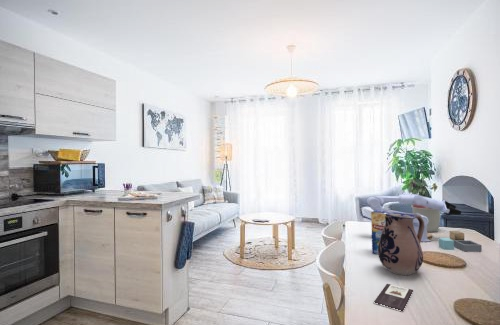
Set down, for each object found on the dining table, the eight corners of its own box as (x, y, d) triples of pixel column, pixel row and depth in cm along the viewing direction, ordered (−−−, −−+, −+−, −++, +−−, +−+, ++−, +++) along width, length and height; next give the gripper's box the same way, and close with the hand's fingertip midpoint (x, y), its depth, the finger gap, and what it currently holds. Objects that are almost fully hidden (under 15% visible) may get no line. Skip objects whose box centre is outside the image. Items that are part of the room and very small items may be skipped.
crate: (463, 251, 144) (463, 244, 144) (453, 246, 153) (453, 240, 153) (481, 251, 143) (481, 245, 143) (470, 246, 152) (470, 240, 152)
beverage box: (394, 258, 137) (393, 214, 137) (372, 253, 145) (371, 212, 145) (398, 254, 142) (397, 212, 142) (376, 250, 149) (375, 210, 149)
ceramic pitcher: (369, 267, 126) (368, 213, 126) (403, 260, 133) (401, 209, 133) (402, 282, 109) (401, 220, 109) (439, 274, 117) (437, 215, 117)
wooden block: (455, 245, 155) (454, 233, 155) (449, 242, 160) (449, 230, 160) (464, 245, 154) (464, 233, 154) (459, 243, 159) (458, 231, 159)
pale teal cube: (444, 249, 148) (443, 240, 148) (438, 246, 153) (438, 238, 153) (454, 249, 147) (453, 240, 147) (448, 247, 152) (448, 238, 152)
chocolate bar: (373, 302, 94) (387, 283, 108) (373, 304, 94) (387, 285, 108) (403, 310, 88) (413, 289, 102) (403, 313, 88) (413, 292, 102)
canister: (448, 234, 178) (447, 201, 178) (418, 233, 181) (417, 201, 181) (434, 227, 196) (434, 198, 196) (407, 227, 199) (406, 198, 199)
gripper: (439, 202, 157) (466, 209, 154) (431, 193, 171) (455, 199, 168) (435, 213, 159) (461, 220, 156) (427, 203, 173) (451, 209, 170)
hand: (457, 210), depth 162 cm, fingers open, 7 cm apart
